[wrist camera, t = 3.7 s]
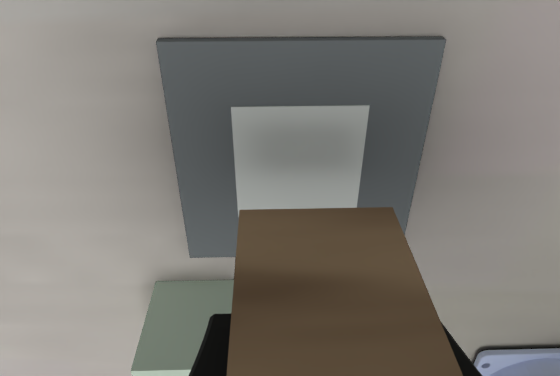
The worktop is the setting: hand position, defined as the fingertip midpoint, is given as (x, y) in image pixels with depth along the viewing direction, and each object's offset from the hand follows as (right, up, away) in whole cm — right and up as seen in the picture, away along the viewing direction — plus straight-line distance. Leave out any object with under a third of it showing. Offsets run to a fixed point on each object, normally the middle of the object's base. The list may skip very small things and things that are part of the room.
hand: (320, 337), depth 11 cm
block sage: (-5, -3, +12) cm, 14 cm away
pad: (0, +5, +7) cm, 9 cm away
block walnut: (0, +2, +2) cm, 2 cm away
